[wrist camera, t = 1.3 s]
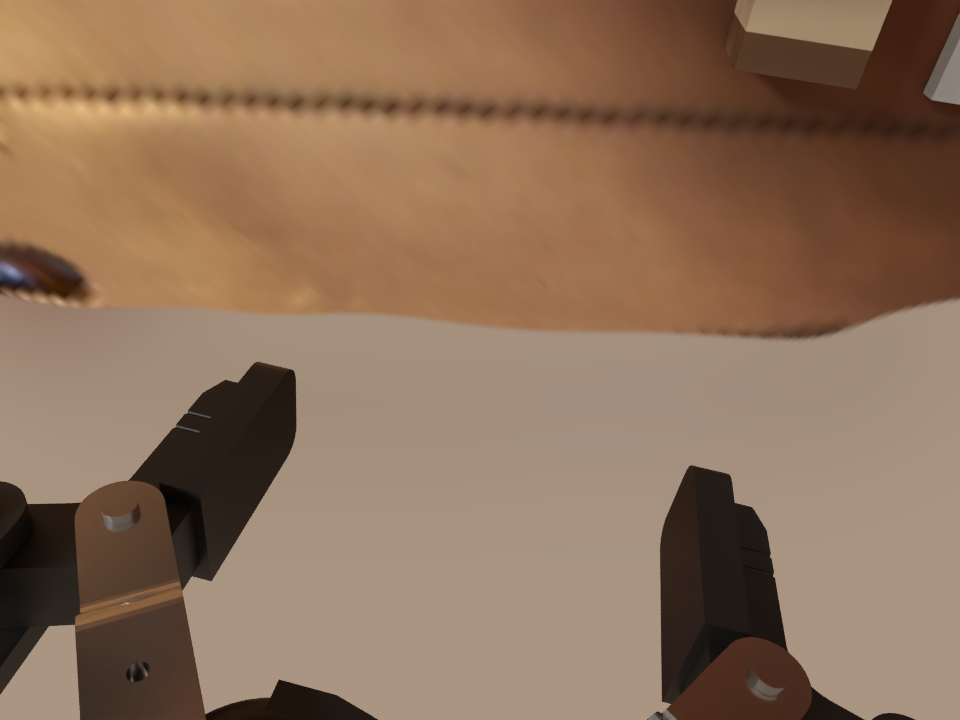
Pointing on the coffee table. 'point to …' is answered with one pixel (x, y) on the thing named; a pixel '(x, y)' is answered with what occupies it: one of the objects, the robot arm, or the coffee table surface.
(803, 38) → the block
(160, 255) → the coffee table surface
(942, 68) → the mat
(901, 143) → the coffee table surface
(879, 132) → the coffee table surface
